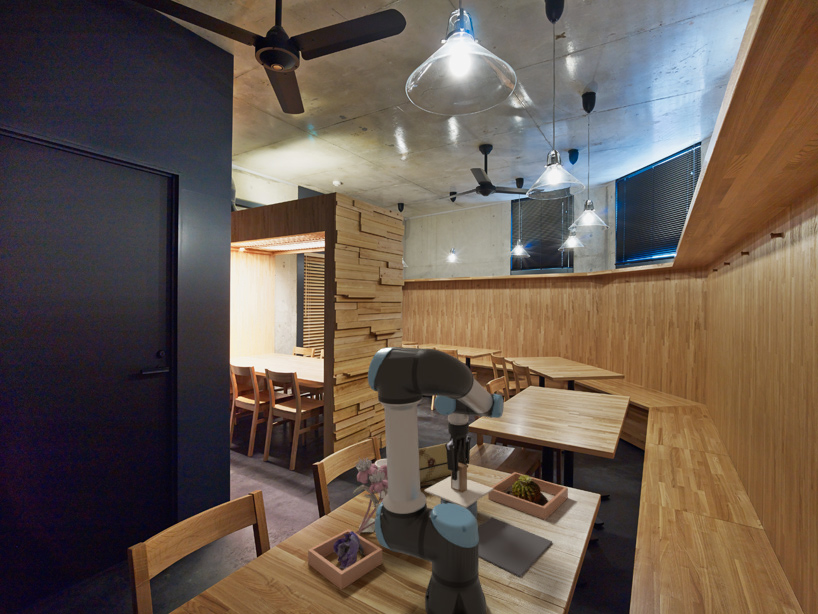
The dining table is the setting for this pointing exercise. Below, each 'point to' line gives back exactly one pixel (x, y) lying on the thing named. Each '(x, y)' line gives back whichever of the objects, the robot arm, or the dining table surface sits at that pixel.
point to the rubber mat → (509, 546)
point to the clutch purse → (433, 463)
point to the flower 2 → (371, 489)
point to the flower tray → (351, 572)
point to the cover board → (457, 495)
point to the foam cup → (379, 464)
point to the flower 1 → (348, 549)
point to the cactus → (528, 491)
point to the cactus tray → (525, 505)
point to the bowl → (471, 508)
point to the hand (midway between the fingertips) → (458, 486)
